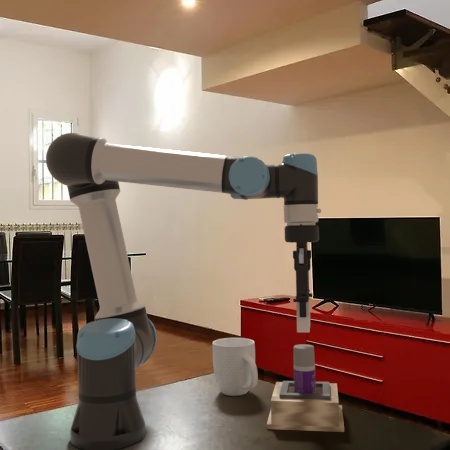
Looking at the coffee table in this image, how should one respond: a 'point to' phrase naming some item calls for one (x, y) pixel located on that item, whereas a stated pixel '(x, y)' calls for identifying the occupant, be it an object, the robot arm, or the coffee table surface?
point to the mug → (234, 365)
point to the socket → (306, 408)
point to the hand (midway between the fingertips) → (303, 329)
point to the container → (304, 369)
